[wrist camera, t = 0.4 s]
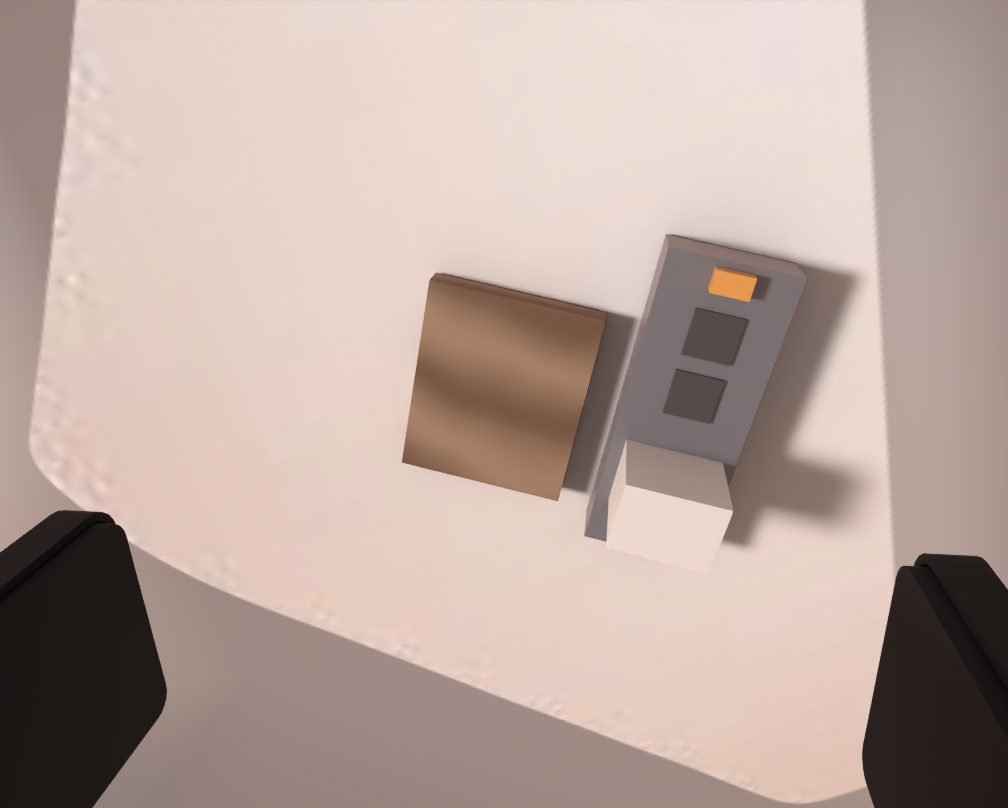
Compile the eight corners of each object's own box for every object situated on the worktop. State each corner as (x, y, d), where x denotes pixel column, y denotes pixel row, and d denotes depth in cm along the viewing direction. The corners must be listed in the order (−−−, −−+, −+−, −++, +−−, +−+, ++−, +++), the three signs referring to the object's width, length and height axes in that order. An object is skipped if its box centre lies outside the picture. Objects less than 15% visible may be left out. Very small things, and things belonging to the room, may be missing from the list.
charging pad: (436, 272, 43) (429, 279, 42) (606, 312, 43) (605, 320, 41) (408, 451, 49) (401, 462, 47) (560, 488, 48) (557, 501, 47)
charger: (626, 427, 44) (625, 484, 38) (719, 450, 44) (733, 511, 38) (609, 484, 46) (606, 547, 40) (699, 507, 45) (709, 573, 40)
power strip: (666, 234, 41) (669, 250, 37) (795, 263, 40) (811, 282, 37) (587, 509, 48) (583, 543, 45) (694, 536, 48) (699, 572, 45)
